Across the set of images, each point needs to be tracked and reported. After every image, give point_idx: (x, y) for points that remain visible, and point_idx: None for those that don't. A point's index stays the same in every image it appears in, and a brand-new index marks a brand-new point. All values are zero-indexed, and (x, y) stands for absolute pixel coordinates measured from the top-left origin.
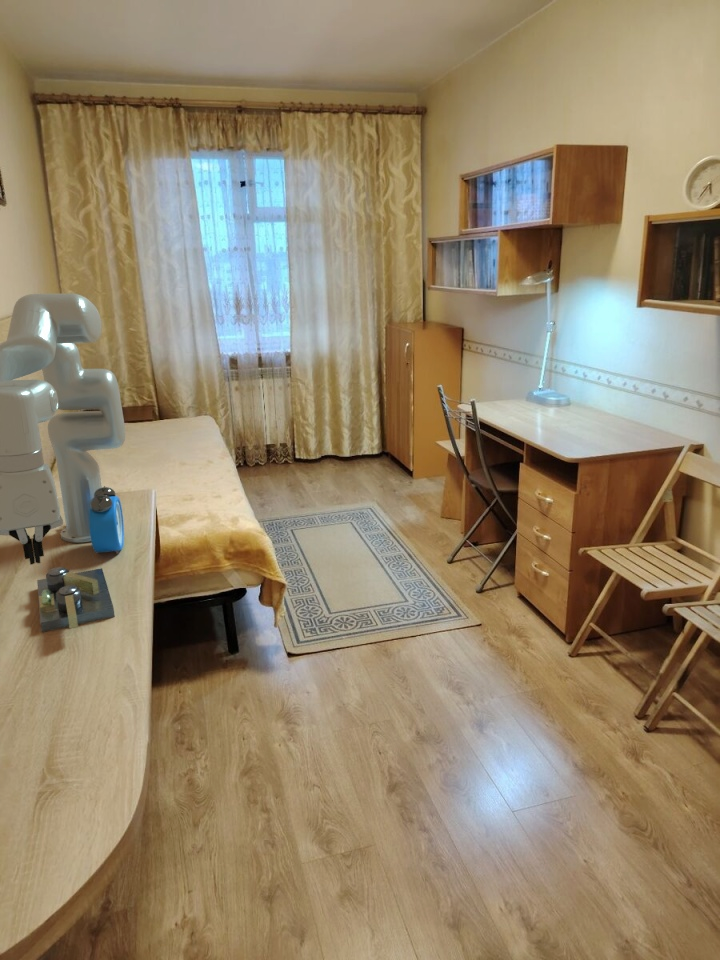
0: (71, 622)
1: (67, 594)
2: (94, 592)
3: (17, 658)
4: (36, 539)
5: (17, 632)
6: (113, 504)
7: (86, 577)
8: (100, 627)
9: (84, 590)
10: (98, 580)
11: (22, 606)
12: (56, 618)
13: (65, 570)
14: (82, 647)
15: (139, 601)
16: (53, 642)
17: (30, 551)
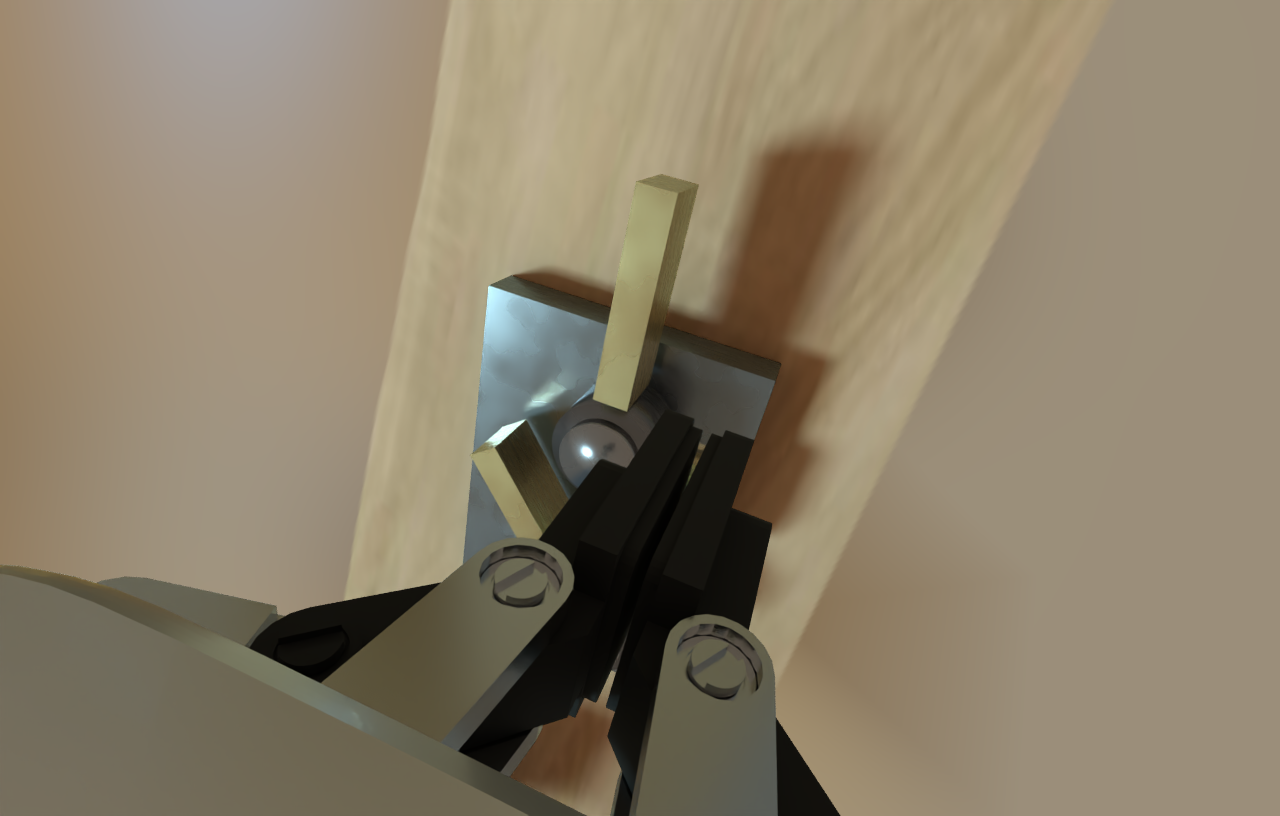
0: (678, 185)
1: (611, 425)
2: (516, 425)
3: (964, 207)
4: (560, 589)
5: (858, 435)
6: None
7: (503, 508)
8: (579, 228)
9: (544, 470)
10: (488, 535)
11: (761, 601)
12: (706, 367)
13: None
14: (693, 97)
15: (410, 327)
16: (777, 241)
17: (703, 510)
